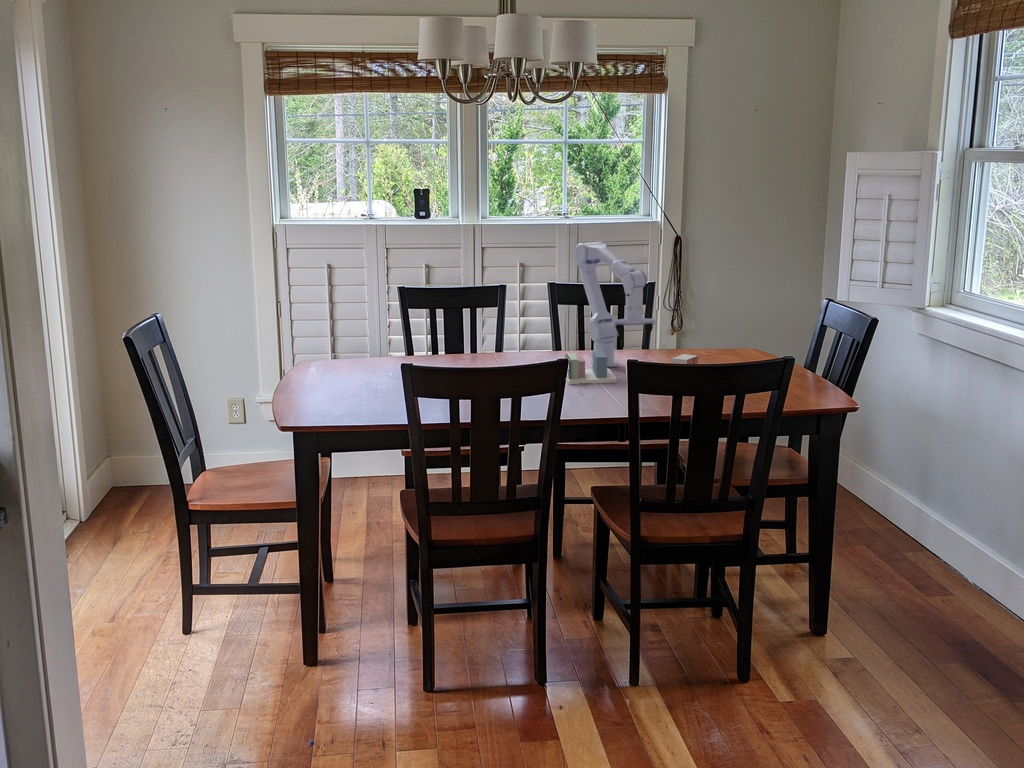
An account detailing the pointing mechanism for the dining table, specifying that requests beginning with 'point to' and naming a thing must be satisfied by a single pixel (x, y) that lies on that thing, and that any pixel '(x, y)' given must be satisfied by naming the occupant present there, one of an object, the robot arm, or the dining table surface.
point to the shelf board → (593, 378)
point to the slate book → (599, 364)
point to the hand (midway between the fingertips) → (633, 346)
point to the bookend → (569, 366)
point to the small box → (685, 359)
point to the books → (577, 366)
